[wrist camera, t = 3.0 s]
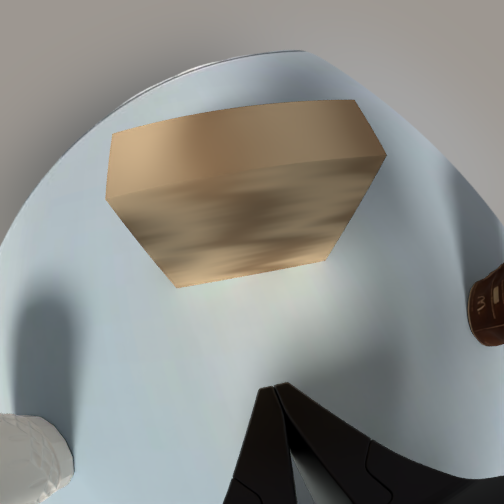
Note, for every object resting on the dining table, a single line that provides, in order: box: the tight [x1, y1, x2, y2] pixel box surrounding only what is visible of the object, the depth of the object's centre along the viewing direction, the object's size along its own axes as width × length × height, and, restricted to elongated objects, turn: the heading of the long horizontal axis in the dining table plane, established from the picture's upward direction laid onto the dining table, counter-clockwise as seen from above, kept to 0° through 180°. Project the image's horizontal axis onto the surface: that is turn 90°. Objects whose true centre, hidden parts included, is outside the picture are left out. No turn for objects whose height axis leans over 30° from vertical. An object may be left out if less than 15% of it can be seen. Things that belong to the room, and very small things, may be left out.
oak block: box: [105, 100, 387, 288], centre depth 17 cm, size 11×4×12 cm, turn 101°
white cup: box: [0, 413, 74, 504], centre depth 11 cm, size 8×8×10 cm
